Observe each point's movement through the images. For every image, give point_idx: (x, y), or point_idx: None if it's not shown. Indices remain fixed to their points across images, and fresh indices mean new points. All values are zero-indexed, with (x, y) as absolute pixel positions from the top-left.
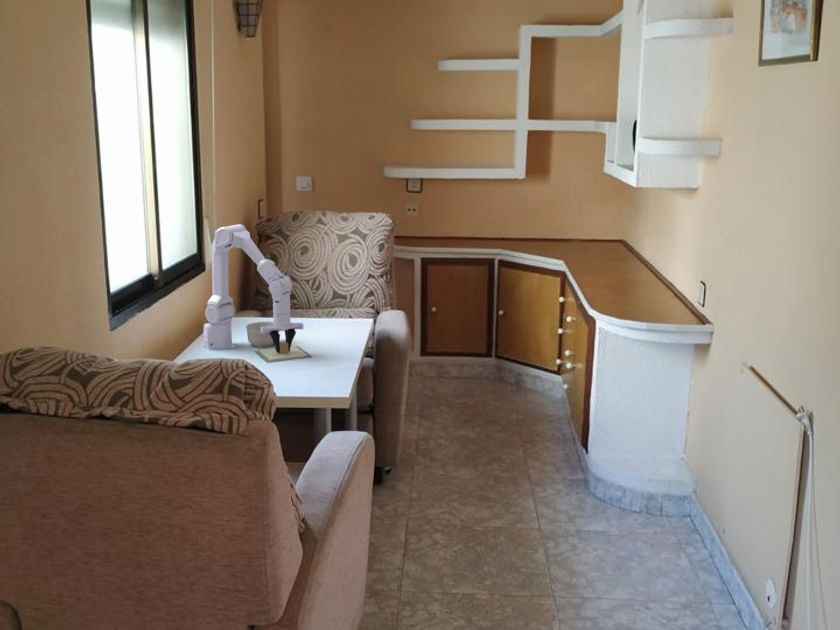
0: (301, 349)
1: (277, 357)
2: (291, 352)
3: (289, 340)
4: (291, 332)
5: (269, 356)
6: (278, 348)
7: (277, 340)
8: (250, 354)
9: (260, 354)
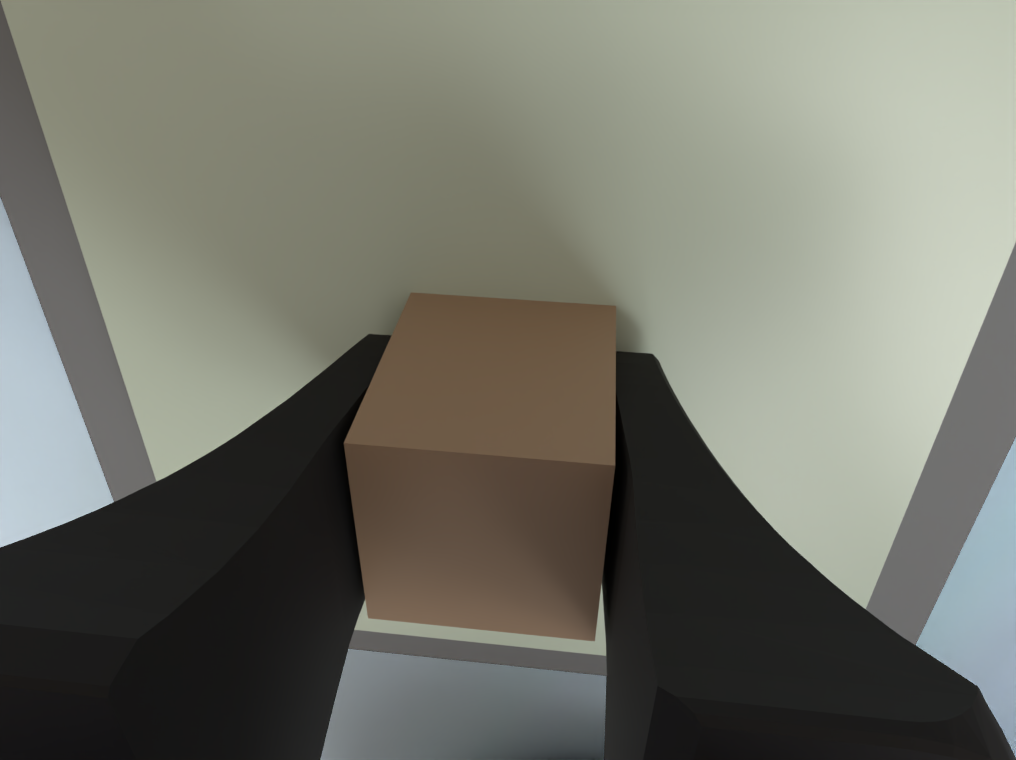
0: (112, 464)
1: (831, 27)
2: (337, 297)
3: (276, 478)
4: (12, 668)
5: (950, 226)
6: (650, 394)
7: (716, 546)
8: (1000, 628)
9: (914, 524)
